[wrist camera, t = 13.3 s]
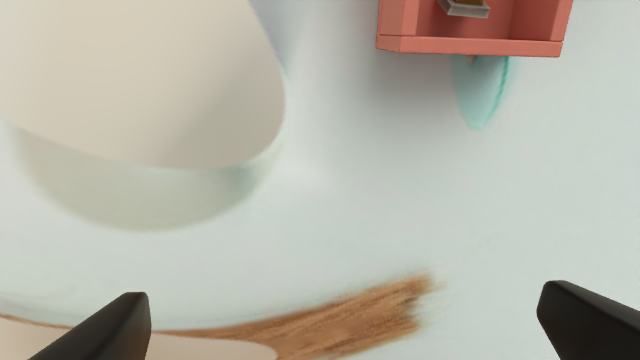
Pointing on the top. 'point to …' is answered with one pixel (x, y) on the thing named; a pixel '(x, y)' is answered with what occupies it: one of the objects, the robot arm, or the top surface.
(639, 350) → the robot arm
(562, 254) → the top surface
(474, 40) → the tray
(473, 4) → the wooden post with brackets
